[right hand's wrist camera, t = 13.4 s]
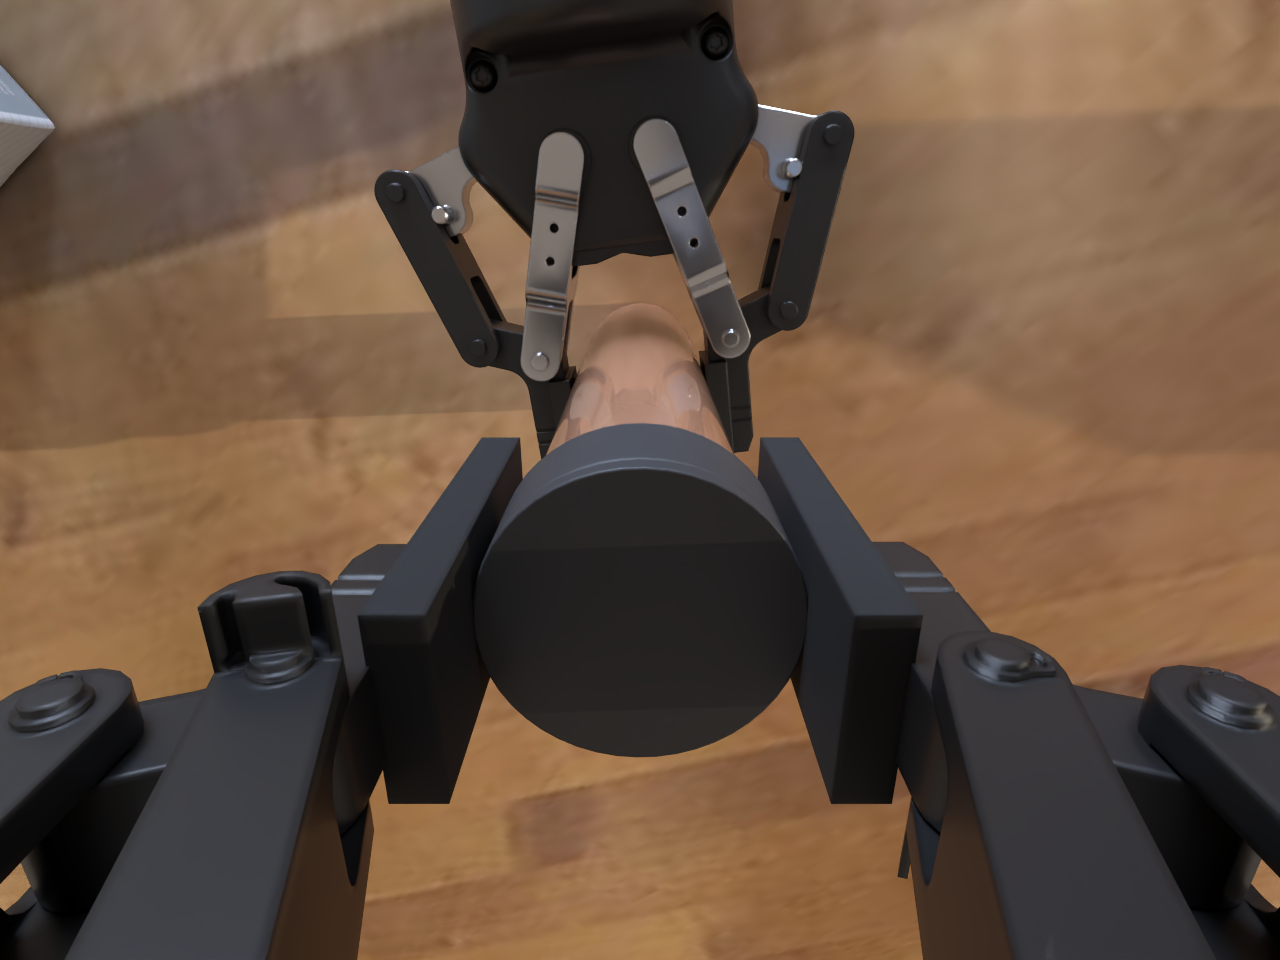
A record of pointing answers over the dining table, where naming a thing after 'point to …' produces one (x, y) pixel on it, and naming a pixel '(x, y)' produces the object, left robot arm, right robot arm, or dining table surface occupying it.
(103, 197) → the dining table surface
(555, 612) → the lid
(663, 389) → the brown cylinder
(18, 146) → the hard drive box
